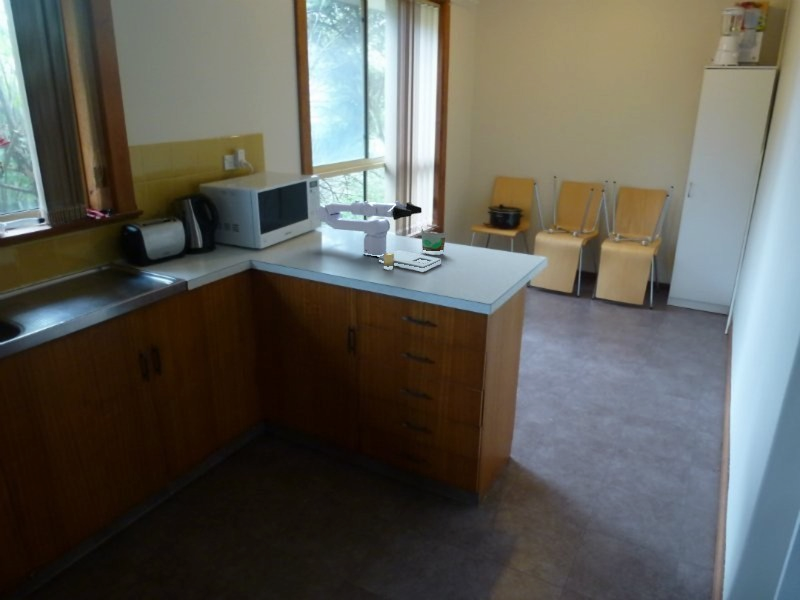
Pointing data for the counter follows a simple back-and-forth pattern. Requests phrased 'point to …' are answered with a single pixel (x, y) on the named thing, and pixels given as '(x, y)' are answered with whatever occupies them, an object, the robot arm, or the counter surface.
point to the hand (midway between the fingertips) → (416, 211)
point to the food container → (433, 240)
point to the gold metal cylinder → (388, 259)
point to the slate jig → (411, 259)
